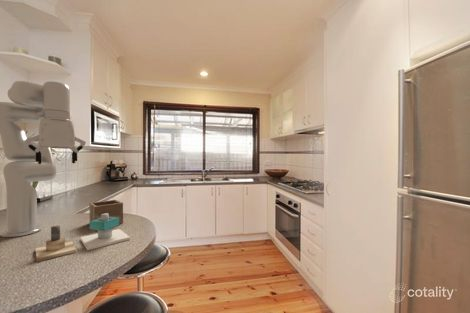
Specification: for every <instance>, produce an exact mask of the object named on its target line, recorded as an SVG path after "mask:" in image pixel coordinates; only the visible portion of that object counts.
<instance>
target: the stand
mask: <svg viewBox="0 0 470 313" xmlns="http://www.w3.org/2000/svg"><path fill="white" fill-rule="evenodd" d="M74 253H77V248H76V247H75V244H74V242H73V240H72V239H69V240H66V238H65V237H64V236H61V225H54V226H51V227H50V239H47V240H46V241H45V245H41V246H37V247H35V259H36V263H39V262H42V261H47V260H50V259H54V258H58V257H62V256H66V255H70V254H74Z"/></svg>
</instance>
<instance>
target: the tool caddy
mask: <svg viewBox="0 0 470 313" xmlns="http://www.w3.org/2000/svg"><path fill="white" fill-rule="evenodd" d="M105 213H108V214H109V217H119V225H121V224H124V202H122V201H120V200H118V199H111V200H104V201H95V202H89V222H90V221H92V220H95V219H99V218H101V214H105Z"/></svg>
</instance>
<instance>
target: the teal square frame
mask: <svg viewBox="0 0 470 313" xmlns="http://www.w3.org/2000/svg"><path fill="white" fill-rule="evenodd" d="M119 225H120V224H119V217H109V220H106V221H101V218H99V219H95V220H92V221H90V220H89V230H96V231H98V230H107V229H110V228H112V229H113V228H115V227H118V226H119Z"/></svg>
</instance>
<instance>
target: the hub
mask: <svg viewBox="0 0 470 313" xmlns="http://www.w3.org/2000/svg"><path fill="white" fill-rule="evenodd" d="M106 220H109V214H108V213H105V214H101V221H106ZM129 240H131V236H129V234H127V233H125V232H124V231H123V230H121V229H120V228H118V229H113V227H112V228H110V229H107V230H97V233H93V234H90V235H84V236H80V242H81V243H82V244H83V245H84V248H85V249H86V251H89V250H94V249H98V248H102V247H105V246H110V245H113V244H119V243H121V242H126V241H129Z"/></svg>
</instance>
